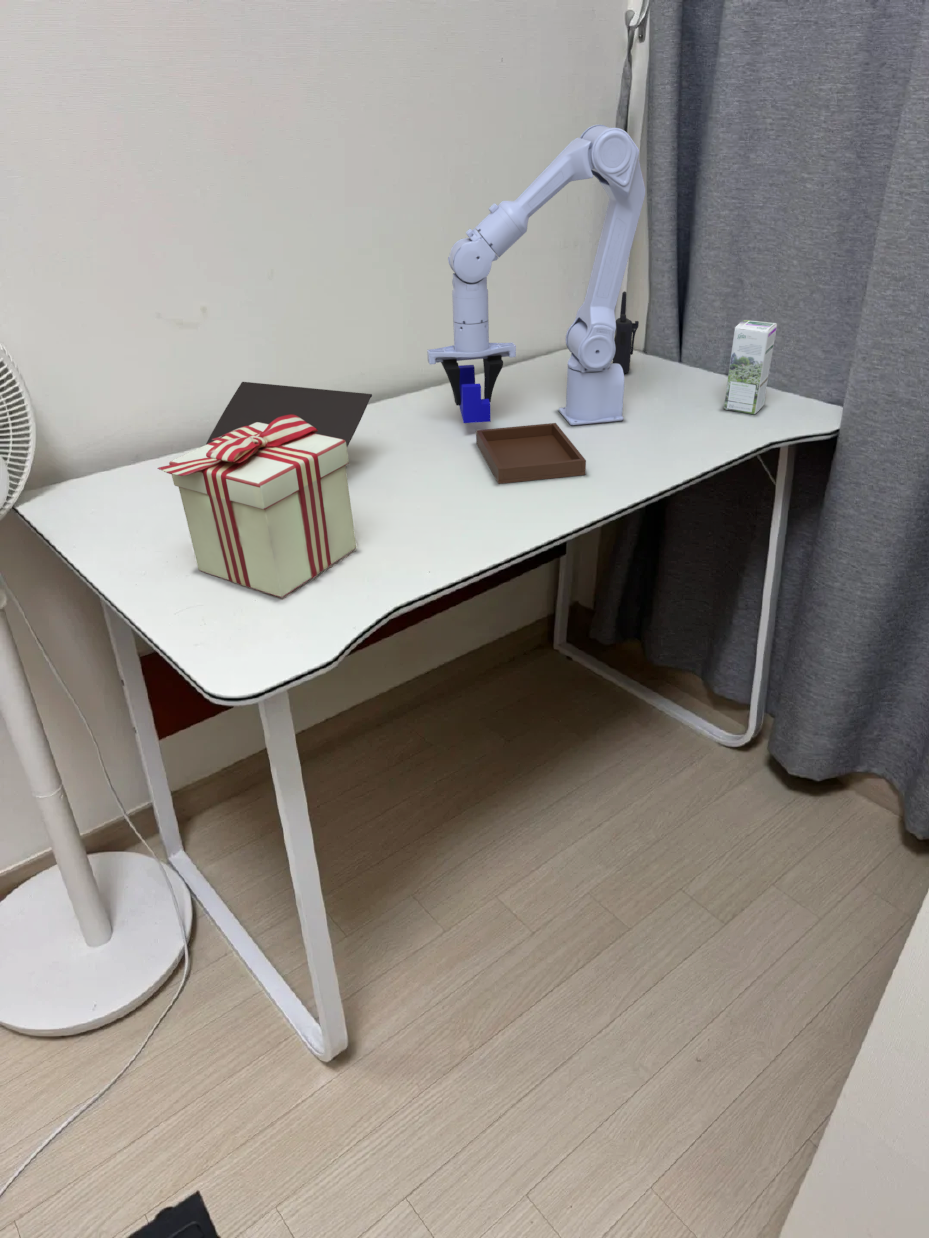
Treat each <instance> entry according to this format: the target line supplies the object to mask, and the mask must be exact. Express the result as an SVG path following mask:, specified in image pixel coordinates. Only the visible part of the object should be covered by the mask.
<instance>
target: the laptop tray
mask: <svg viewBox="0 0 929 1238" xmlns="http://www.w3.org/2000/svg"><path fill="white" fill-rule="evenodd" d="M372 397H373V394H372V393H366V392H354V391H344V390H333V389H324V388H313V387H312V388H311V387H302V386H293V385H292V386H291V385H281V384H271V383H260V382H252V381H251V382H249V381H241V383H240V384H239V386H238V387H237V389H236V391H235V392H234V394H233V395H232V397H231V398H230V400H229V402H228V403H227V406H226V407H225V409H224V410H223V412H222V414H221V416H220V418H219V419H218V421H217V423H216V424H215V426H214V428H213V430H212V432H211V434H210V435H209V437H208V439H207V441H206V443H205V445H207V444H208V443H211V442H213V441H215V440H212V439H214V438H217V437H221V436H222V435H224V434H227V433H229V432H231V431H233V430H236V429H238V428H241V427H244V426H249V425H251V424H253V423H256V422H259V423H265V424H270V423H271V422H272V421H274V420H275V419H276V418H278V417H282V416H286V415H291V414H293V415H296V416H298V417H300V418H301V419H302V420H304V421H305V422H307V423H308V424H310V425H311V426H313V427H314V428H316V429H317V430H318V431H317V432H315V434H319V435H324V436H329V437H334V438H338V439H343V440H345V441H346V446H347V448H348V447H349V445H350V443H351V441H352V439H353V437H354V435H355V433H356V431H357V429H358V427H359V424H360V422H361V420H362V418H363V416H364V413H365V412H366V409H367V406H368V404H369V402H370V400H371V398H372Z"/></svg>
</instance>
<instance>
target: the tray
mask: <svg viewBox="0 0 929 1238" xmlns="http://www.w3.org/2000/svg"><path fill="white" fill-rule="evenodd" d="M475 435H476V436H475V437H476V439H475V440H476V441H475V442H476V443H475V444H476V446H477V448H478V449H479V452H480V453H481V455H482V457H483V459H484V460H485V462H486V464H487V466H488V468H489V470H490V471H491V473H492V475H493V477H494V479H495V481H496V482H497V484H498V485H502V484H503V485H504V484H511V483H520V482H521V483H522V482H533V481H540V480H550V479H558V478H559V479H560V478H570V477H579V476H585V475H586V470H587V469H586V468H587V460H586V458H585V457H584V456H583V454H582V453H581V452H580V451H579V450H578V448H577V447H576V446H575V445H574V443H573V442H572V441H571V439H570V438H569V437H568V436H567V435H566V433H565V432H564V431H563V429H561V427H560V426H559V424H557V423H556V422H550V423H539V424H530V425H529V424H528V425H527V424H526V425H519V426H507V427H496V428H487V429H475Z"/></svg>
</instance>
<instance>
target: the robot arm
mask: <svg viewBox="0 0 929 1238" xmlns="http://www.w3.org/2000/svg"><path fill="white" fill-rule="evenodd" d="M594 177H595V178H596V179H597V180H598V183H599V184H600V185H601V187H602V189H603V191H604V192H605V194H606V195H607V196H608V203H607V208H606V210H605V216H604V219H603V223H602V227H601V232H600V236H599V240H598V244H597V248H596V252H595V255H594V260H593V263H592V268H591V272H590V276H589V280H588V285H587V288H586V293H585V298H584V300H583V303H582V304H581V305H580V307H579V308H578V309H577V311H576V315H575V318H574V320H573V322H572V324H571V325H570V326H569V327H568V328H567V331H566V334H565V338H564V339H565V345H566V348H567V350H568V351H569V352H570V353H571V354H570V357H569V359H568V360H567V367H566V368H567V369H566V370H567V372H566V392H565V393H566V396H565V406H563V407H559V408H558V412H559V413H560V414H561V415H562V416H563V418H564V419H565V420H566V421H567V423H568V424H569V425H570V426H579V425H589V424H600V423H612V422H621V421H624V417H623V409H624V408H623V407H624V398H625V397H624V395H625V394H624V393H625V374H624V373H623V369H622V367H621V365H620V364H617V363H611V362H613V358H614V355H615V350H616V349H615V342H614V338H615V330H616V314H615V313H616V312H615V311H616V306H617V303H618V300H619V295H620V292H621V287H622V284H623V280H624V276H625V272H626V270H627V265H628V262H629V258H630V253H631V250H632V246H633V242H634V239H635V236H636V232H637V227H638V224H639V220H640V216H641V213H642V210H643V206H644V201H645V197H646V186H645V181H644V177H643V171H642V167H641V163H640V149H639V148H638V146H637V144H636V143H635V142H634V140H633V139H632V137H631V135H630V134H629V133H628V132H627V131H625V130H624V129H622V128H619V127H609V126H607V125H605V124H593V125H590V126H589V127H587V128H586V129H584V131H583V132H582V133H581V135H580V136H579V137H576V138H574V139H572V140H571V141H570V142H569V143H568V144H567V146H565V147H564V149H562V151H560V153H558V155H556V157H555V158H554V159H553V160H552V161H551V162H550V163H549V164H548V165H547V166H546V167H545V168H544V170H543V171H542V172H540V173H539V174H538V176H537V177H536V178H535V179H534V180H533V181H532V182H531V183H530V184H529V185H528V186H527V188H525V189H524V190H523V192H521V194H520V195H519V196H518V197H516V199H515V200H502V201H501V202H500V203H498V204H497V203H495V202H493V203H492V204H491V206H489V207H488V211H489V213H488V214H487V215H486V216H485V217H484V218H483V219H482V220H481V221H480V222H479V223H478V224H477V225H475V227H474V228H473V229H471V228H470V227H469V229H468V230H466V231H465V235H466V236H467V237H465V238H461V239H458V240H457V241H456V242H455V243H453V245H452V246H451V248H450V252H449V256H448V257H447V261H448V264H449V267H450V269H451V270H452V272H454V273H452V279H451V280H452V281H451V283H452V291H451V292H452V293H451V298H452V300H451V301H452V322H453V326H452V327H453V345H447V346H443V347H437V348H429V349H427V350H426V353H427V354H426V355H427V363H428V364H429V365H437V364H438V363H440V364H441V366H442V368H443V370H444V372H445V375H446V376H447V378H448V381H449V384H450V387H451V391H452V394H453V398H454V399H453V400H454V404H455V405H456V406H458V407H459V405H461V395H460V368H459V367H458V366H459V362H460V361H461V362H462V361H471V360H472V361H473V360H482V362H483V363H482V364H483V377H484V379H483V380H484V384H483V387H484V388H483V399H489V401H490V403H492V396H493V393H494V389H495V385H496V382H497V379H498V377H499V375H500V373H501V371H502V369H503V367H504V361H503V358H506V357H508V358H516V356H517V346H516V344H515V343H514V342H490V330H489V329H490V327H489V325H490V324H489V322H490V321H489V290H488V276H489V275H490V272H491V270H492V265H493V262H495V261H497V260H498V259H499V258H501V256H503V255H504V254H505V253H506V252H507V251H508V250H509V249H510V248H511V247H512V246H513V245H514V244H516V243H517V241H519V239H521V238H522V237H523V236H524V235H525V234H526V233H527V231H528V224H529V219H530V217H532V216H533V215H534V214H535V213H537V212H538V210H540V209H541V208H542V207H543V206H544V205H545V204H546V203H548V202H549V201H550V200H552V198H554V196H556V195H557V194H558V193H559V192H560V191H562V189H564V188H565V187H566V186H567V185H568V184H569V183H571V182H575V181H582V180H588V179H593V178H594Z"/></svg>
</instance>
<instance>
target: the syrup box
mask: <svg viewBox="0 0 929 1238" xmlns="http://www.w3.org/2000/svg"><path fill="white" fill-rule="evenodd" d="M777 329H778V323H776V322H769V321H768V322H767V321H758V320H748V319H743V320H742V321H740V322H739V323H738V324H737V325H735V326H734V332H733V339H732V347H731V353H730V360H729V367H728V375H727V382H726V389H725V397H724V403H723V410H724V411H725V410H726V411H730V412H737V413H743V414H750V415H756V414H757V413H758V412H759V411H760V410H761V409H762V408H763V407H764V405H765V401H766V394H767V388H768V380H769V376H770V375H769V374H770V370H771V364H772V363H771V362H772V357H773V352H774V346H775V342H776V341H775V340H776V334H777Z"/></svg>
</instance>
